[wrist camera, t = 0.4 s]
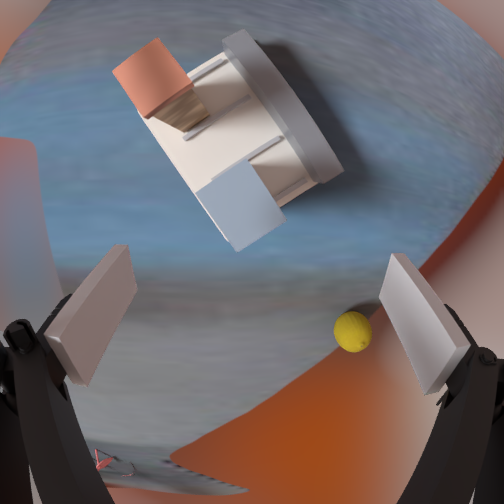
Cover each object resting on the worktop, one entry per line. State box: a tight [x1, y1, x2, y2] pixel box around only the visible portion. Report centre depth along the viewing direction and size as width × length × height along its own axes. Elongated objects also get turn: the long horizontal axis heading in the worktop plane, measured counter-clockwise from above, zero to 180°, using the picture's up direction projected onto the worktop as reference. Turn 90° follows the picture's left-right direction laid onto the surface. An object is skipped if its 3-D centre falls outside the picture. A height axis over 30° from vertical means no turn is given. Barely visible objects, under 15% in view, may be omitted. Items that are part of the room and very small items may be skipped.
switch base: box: [137, 29, 344, 241], centre depth 32 cm, size 18×22×6 cm
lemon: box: [334, 311, 372, 352], centre depth 39 cm, size 6×6×8 cm
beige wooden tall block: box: [112, 37, 210, 133], centre depth 25 cm, size 5×6×15 cm
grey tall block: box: [195, 158, 287, 252], centre depth 28 cm, size 5×6×15 cm
